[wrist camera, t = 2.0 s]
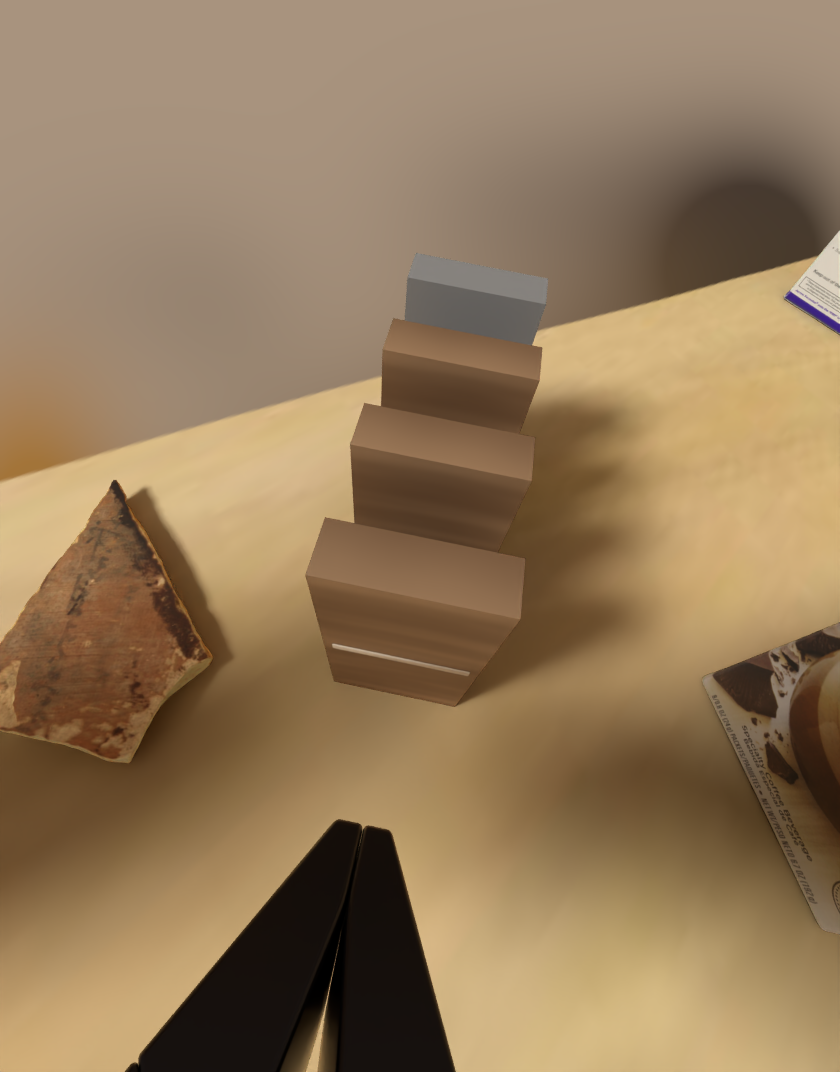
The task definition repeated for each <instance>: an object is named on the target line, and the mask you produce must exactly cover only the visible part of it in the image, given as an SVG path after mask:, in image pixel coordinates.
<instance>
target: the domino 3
mask: <svg viewBox="0 0 840 1072" xmlns="http://www.w3.org/2000/svg"><path fill="white" fill-rule="evenodd" d="M534 447H535V437H531V436H526V435H521V434H516V433H511V432H506V431H501V430H496V429H491V428H486V427H481V426H476V425H471V424H466V423H461V422H456V421H451V420H446V419H441V418H436V417H431V416H426V415H421V414H416V413H411V412H406V411H401V410H396V409H391V408H386V407H381V406H376V405H371V404H366V403H364V406H363V409H362V412H361V415H360V417H359V420H358V423H357V426H356V429H355V432H354V435H353V438H352V441H351V444H350V449H351V467H352V485H353V503H354V522H355V524H360V525H365V526H370V527H375V528H380V529H384V530H389V531H394V532H399V533H404V534H409V535H414V536H419V537H423V538H428V539H433V540H438V541H443V542H448V543H453V544H458V545H463V546H467V547H472V548H477V549H482V550H487V551H492V552H497V553H498V551H499V549H500V546H501V544H502V542H503V540H504V538H505V536H506V534H507V532H508V530H509V528H510V526H511V523H512V521H513V519H514V517H515V515H516V513H517V511H518V509H519V507H520V505H521V502H522V500H523V498H524V496H525V494H526V492H527V490H528V488H529V486H530V484H531V482H532V471H533V459H534Z"/></svg>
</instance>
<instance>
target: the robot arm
mask: <svg viewBox="0 0 840 1072" xmlns="http://www.w3.org/2000/svg"><path fill="white" fill-rule="evenodd" d="M361 835H362V837H361ZM360 840H361V841H360ZM359 845H360V846H359ZM340 935H341V936H340ZM339 940H340V941H339ZM338 945H339V946H338ZM337 949H338V951H337ZM336 954H337V955H336ZM335 959H336V960H335ZM334 963H335V965H334ZM333 968H334V970H333ZM332 973H333V975H332ZM331 978H332V980H331ZM330 982H331V985H330ZM329 987H330V990H329ZM328 991H329V996H328ZM327 996H328V1001H327V1006H326V1012H325V1018H324V1025H323V1032H322V1039H321V1048H320V1056H319V1065H318V1072H456V1071H455V1067H454V1063H453V1060H452V1056H451V1052H450V1048H449V1045H448V1041H447V1037H446V1033H445V1030H444V1026H443V1022H442V1018H441V1015H440V1011H439V1007H438V1003H437V1000H436V996H435V992H434V988H433V985H432V981H431V977H430V973H429V970H428V966H427V962H426V958H425V955H424V951H423V947H422V944H421V940H420V936H419V932H418V929H417V925H416V921H415V917H414V914H413V910H412V906H411V902H410V899H409V895H408V891H407V887H406V884H405V880H404V876H403V872H402V869H401V865H400V861H399V857H398V854H397V850H396V846H395V842H394V839H393V835H392V833H391V832H390V831H389V830H387V829H382V828H378V827H373V826H366V827H365V828H364V829H363V832H362V826H361V825H360V824H359V823H355V822H350V821H345V820H341V819H338V820H336V821H335V822H333V823H332V825H331V826H330V827H329V828H328V829H327V831H326V832H325V833H324V834H323V835H322V837H321V838H320V839H319V840H318V841H317V843H316V844H315V845H314V846H313V847H312V849H311V850H310V851H309V852H308V853H307V854H306V856H305V857H304V858H303V859H302V860H301V862H300V863H299V864H298V865H297V866H296V868H295V869H294V870H293V871H292V872H291V874H290V875H289V876H288V877H287V878H286V880H285V881H284V882H283V883H282V884H281V886H280V887H279V888H278V889H277V890H276V892H275V893H274V894H273V895H272V896H271V898H270V899H269V900H268V901H267V902H266V904H265V905H264V906H263V907H262V908H261V910H260V911H259V912H258V913H257V914H256V916H255V917H254V918H253V919H252V920H251V922H250V923H249V924H248V925H247V926H246V928H245V929H244V930H243V931H242V932H241V934H240V935H239V936H238V937H237V938H236V940H235V941H234V942H233V943H232V944H231V946H230V947H229V948H228V949H227V950H226V951H225V953H224V954H223V955H222V956H221V957H220V959H219V960H218V961H217V962H216V963H215V965H214V966H213V967H212V968H211V969H210V971H209V972H208V973H207V974H206V975H205V977H204V978H203V979H202V980H201V981H200V983H199V984H198V985H197V986H196V987H195V989H194V990H193V991H192V992H191V993H190V995H189V996H188V997H187V998H186V999H185V1001H184V1002H183V1003H182V1004H181V1005H180V1007H179V1008H178V1009H177V1010H176V1011H175V1013H174V1014H173V1015H172V1016H171V1017H170V1019H169V1020H168V1021H167V1022H166V1023H165V1025H164V1026H163V1027H162V1028H161V1029H160V1031H159V1032H158V1033H157V1034H156V1035H155V1037H154V1038H153V1039H152V1040H151V1041H150V1043H149V1044H148V1045H147V1046H146V1047H145V1048H144V1050H143V1051H142V1052H141V1053H140V1055H139V1058H138V1064H137V1063H132V1064H131V1065H130V1066H129V1067H128V1068H127V1070H126V1071H125V1072H306V1069H307V1066H308V1063H309V1059H310V1056H311V1053H312V1050H313V1047H314V1043H315V1040H316V1037H317V1033H318V1030H319V1027H320V1023H321V1020H322V1016H323V1012H324V1008H325V1004H326V1000H327Z"/></svg>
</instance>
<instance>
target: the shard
mask: <svg viewBox="0 0 840 1072" xmlns="http://www.w3.org/2000/svg"><path fill="white" fill-rule="evenodd" d="M126 500H127V498H126V494H125V493H124V491H123V489H122V487H121V486H120V484H119V483H118V482H117V480H113V482H112V483H111V486H110V488H109V489H108V491H107V493H106V495H105V496H104V497H103V498H102V500H101V501H100V502H99V504H98V506H97V507H96V508H95V509H94V510H93V513H92V514H91V516H90V518H89V519H88V522H87V524H86V526H85V528H84V529H83V530H82V531H81V532H80V534H79V535H78V536H77V538H76V539H75V541H74V542H73V543H72V544H71V546H70V547H69V548H68V550H67V551H66V552H65V553H64V555H63V556H62V557H61V558H60V559H59V560H58V561H57V563H56V564H55V565H54V567H53V568H52V569H51V570H50V572H49V573H48V575H47V576H46V578H45V579H44V581H43V583H42V584H41V586H40V587H39V589H38V591H37V592H36V593H35V594H34V595H33V596H32V597H31V598H30V599H29V601H28V602H27V604H26V605H25V607H24V608H23V610H22V611H21V613H20V614H19V616H18V619H17V620H16V622H15V624H14V625H13V627H12V628H11V629H10V630H9V632H8V633H7V634H6V635H5V637H4V638H3V640H2V642H1V643H0V731H2V732H6V733H12V734H16V735H20V736H24V737H29V738H33V739H38V740H42V741H48V742H52V743H58V744H63V745H65V746H68V747H71V748H76V749H79V750H81V751H83V752H86V753H88V754H92V755H94V756H97V757H99V758H101V759H103V760H105V761H110V762H124V763H129V762H130V761H131V760H132V758H133V756H134V754H135V752H136V750H137V748H138V747H139V745H140V743H141V740H142V738H143V736H144V734H145V732H146V730H147V729H148V727H149V725H150V724H151V722H152V719H153V717H154V716H155V714H156V713H157V711H158V709H159V708H160V706H161V705H162V704H163V703H164V702H165V701H166V700H167V699H168V698H169V697H170V696H171V695H172V694H174V693H175V692H177V691H178V690H179V689H180V688H181V687H183V686H184V685H185V684H187V683H188V682H189V681H191V680H192V679H193V678H194V677H196V676H197V675H198V674H199V673H201V672H202V671H204V670H205V669H206V668H207V667H208V666H209V665H210V664H211V661H212V659H213V656H212V654H211V653H210V651H209V650H208V648H207V647H206V646H205V645H204V644H203V641H202V639H201V637H200V636H199V634H198V633H197V632H196V630H195V627H194V626H193V624H192V621H191V619H190V616H189V615H188V612H187V609H186V608H185V607H184V605H183V603H182V601H181V600H180V599H179V598H178V596H177V595H176V593H175V590H174V589H173V586H172V583H171V581H170V579H169V577H168V575H167V573H166V571H165V569H164V567H163V561H162V560H161V559H160V558H159V557H158V555H157V552H156V550H155V548H154V546H153V545H152V543H151V541H150V539H149V537H148V535H147V532H146V531H145V530H144V528H143V526H142V525H141V523H140V522H139V521H138V520H137V519H136V518H135V517H134V515H133V513H132V510H131V508H129V506H128V504H127V503H126Z"/></svg>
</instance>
